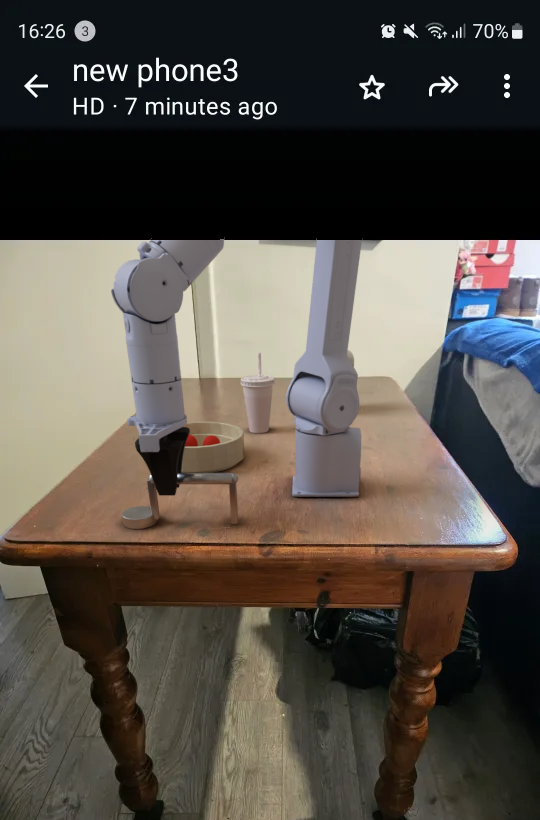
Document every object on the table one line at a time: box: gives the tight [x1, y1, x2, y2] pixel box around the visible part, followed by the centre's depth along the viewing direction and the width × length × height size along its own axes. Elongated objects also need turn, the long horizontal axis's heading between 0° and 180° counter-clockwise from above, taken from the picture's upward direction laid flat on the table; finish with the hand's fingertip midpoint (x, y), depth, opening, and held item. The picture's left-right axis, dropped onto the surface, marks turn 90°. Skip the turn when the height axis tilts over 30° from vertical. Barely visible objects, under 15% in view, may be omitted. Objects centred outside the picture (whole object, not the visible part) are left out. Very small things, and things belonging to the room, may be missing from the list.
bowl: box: [181, 421, 245, 473], centre depth 97 cm, size 15×15×4 cm
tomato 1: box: [185, 435, 198, 447], centre depth 99 cm, size 3×3×3 cm
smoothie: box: [240, 352, 276, 434], centre depth 110 cm, size 6×6×14 cm
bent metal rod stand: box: [121, 472, 239, 530], centre depth 75 cm, size 16×4×7 cm, turn 87°
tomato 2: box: [203, 435, 220, 446], centre depth 99 cm, size 3×3×3 cm
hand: (169, 490), depth 74 cm, fingers closed
